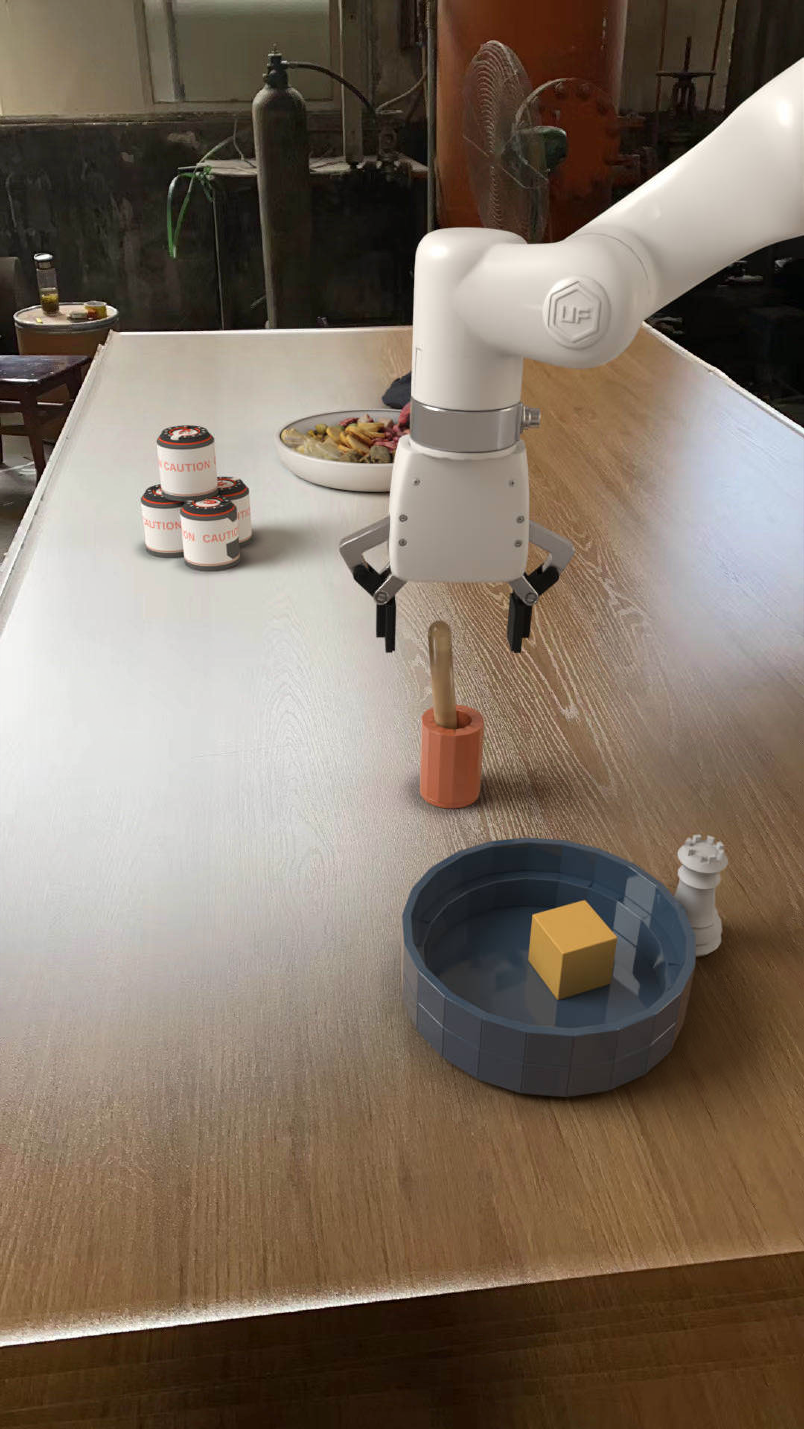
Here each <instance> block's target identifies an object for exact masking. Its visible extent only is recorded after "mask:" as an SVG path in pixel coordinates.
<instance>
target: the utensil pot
mask: <svg viewBox="0 0 804 1429" xmlns="http://www.w3.org/2000/svg"><path fill="white" fill-rule="evenodd" d="M456 717H457V729H446V728H443V727H440V726H438V725H437V724H436V723H435V722H434V711H433V706H432V707H430V708H428V709H426V710H425V711H424V713H423V714H422V715H421V718H420V750H419V752H420V756H419V794H420V796H421V798H422V799H423V800H424V801H425V802H427V803H428V804H430V805H432V806H434V807H438V808H442V809H460V808H461V809H462V808H466V807H468V806H470V805H472V804H474V803H475V802H476V801H477V800H478V799H479V797H480V794H481V788H482V787H481V786H482V771H483V757H484V756H483V754H484V752H483V750H484V737H485V736H484V735H485V719H484V716H483V715H482V713H481V712H480V711H478V710H477V709H476V708H473V707H470V706H468V705H463V704H456Z"/></svg>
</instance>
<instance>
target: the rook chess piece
mask: <svg viewBox="0 0 804 1429" xmlns="http://www.w3.org/2000/svg"><path fill="white" fill-rule="evenodd" d="M706 836H707V837H706V840H703V839H702V835H701V834H700V833H699V834H693V835H692V838H690V837H687V838H686V840H685V842H684V844H683V845H681V847H679V849H678V850H677V858H678V860H679V861H680V863H681V864H682V865H680V867H679V868H678V870H677V877H678V878H679V880H678V884H677V887H676V890H675V893H674V894H673V896H674V897H675V898H676V899H677V901H678V902H679V903H680V904H681V905H682V906H683V908H684V909H685V912H686V914H687V916H688V919H689V921H690V924H691V926H692V929H693V931H694V933H695V937H696V958H699V957H705V956H706V955H709V954H710V953H712V952H714V951H716V950H717V949H718V948H719V946H720V945H721V943H722V933H723V924H722V918H721V917H720V916H719V910H718V909H717V907H716V892H717V891H716V890H717V887H718V886H719V885H720V883H721V882H722V876H721V874H720V872H722V871H724V870H725V869H726V867H727V866H728V864H729V860H728V856H727V855H726V854H725V845H724V844H723V842H722V841H717V842H716V843H715V840H716V838H715V837H714V836H711V835H709V834H708V835H706Z"/></svg>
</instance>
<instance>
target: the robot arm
mask: <svg viewBox="0 0 804 1429" xmlns="http://www.w3.org/2000/svg"><path fill="white" fill-rule="evenodd" d="M803 236H804V56H803V57H802V58H800V59H799V60H797V61H796V62H795V63H794V64H792V65H791V66H789V67H788V68H786V69H785V70H784V71H782V72H781V73H779V74H778V75H776V76H775V77H773V78H772V79H771V80H769V81H768V82H766V83H765V84H764V85H763V86H762V87H760V88H758V90H757V91H755V92H754V93H753V94H752V95H750V96H749V97H748V98H746V99H745V100H744V101H742V103H741V104H739V106H737V107H736V108H735V109H734V110H733V111H732V113H730V114H729V115H728V117H726V118H725V120H723V122H722V123H721V124H719V125H718V126H716V128H715V129H714V130H713V131H711V133H709V134H708V135H707V136H706V137H705V138H703V139H702V140H701V141H699V142H698V143H697V144H696V145H695V146H694V147H691V148H690V149H689V150H688V151H687V152H685V153H684V154H682V156H680V157H679V158H677V159H676V160H674V161H673V162H672V163H670V164H669V165H668V166H666V167H664V169H662V170H661V171H659V172H658V173H657V174H655V175H654V176H652V178H650V179H648V180H647V181H645V182H644V183H643V184H641V185H640V186H638V187H637V188H636V189H635V190H633V191H632V192H630V193H628V194H627V195H626V196H625V197H624V198H621V200H618V202H616V203H615V204H613V205H612V206H610V207H609V208H608V209H606V210H605V211H604V212H602V213H600V214H599V215H598V216H596V217H595V218H594V219H592V220H591V221H589V222H588V223H587V224H585V225H584V226H582V227H581V228H579V229H577V230H576V231H575V232H574V233H572V234H570V235H569V236H567V237H565V239H563V240H560V241H557V242H550V243H549V242H548V243H528V242H527V240H525V239H524V237H522V236H521V235H519V234H517V233H515V232H512V231H507V230H502V229H496V228H487V227H468V226H467V227H466V226H465V227H448V228H440V229H436V230H432V231H431V232H428V233H426V234H425V235H424V236H423V237H422V239H421V240H420V242H419V243H418V245H417V248H416V251H415V260H414V261H415V262H414V278H413V279H414V283H413V287H414V288H413V309H412V311H413V313H412V314H413V315H412V346H411V347H412V348H411V350H412V351H411V370H412V381H411V406H410V434H408V435H404V436H402V437H400V439H399V442H398V445H397V449H396V454H395V460H394V465H393V471H392V480H391V489H390V491H389V502H388V503H389V504H388V516H386V517H384V518H382V519H380V520H378V521H376V522H374V523H372V524H369V525H368V526H366V527H363V528H361V529H360V530H357V531H355V532H353V533H351V534H349V535H347V536H344V537H343V538H341V539H340V540H339V544H338V545H339V546H338V550H339V553H340V555H341V557H342V559H343V561H344V564H346V566H347V568H348V570H349V571H350V573H351V575H352V578H353V580H354V581H355V582H356V583H357V584H358V585H359V586H360V587H361V588H362V589H363V590H365V592H366V593H367V594H368V595H370V597H372V598H373V601H374V603H375V605H376V606H375V637H376V639H377V638H381V639H383V638H384V650H385V653H386V654H393V652H395V651H396V632H397V631H396V630H397V602H396V601H397V600H396V594H397V593H399V591H400V590H401V589H402V588H403V587H404V586H405V585H406V584H407V583H408V582H409V583H432V584H433V583H436V584H437V583H439V584H442V583H445V584H470V583H471V584H495V583H496V584H498V583H501V584H502V583H507V584H508V585H509V587H510V588H511V589H512V592H509V599H508V600H509V601H508V612H507V613H508V614H507V625H506V639H507V642H508V645H509V648H510V651H511V652H513V654H521V653H522V648H523V639H530V636H531V626H532V616H533V606H535V605H536V604H537V603H538V602H539V600H540V597H541V596H542V595H543V594H544V593H545V592H547V591H548V590H549V589H550V588H551V587H553V586H554V585H555V584H556V583H557V582H559V580H560V575H561V574H562V573H563V572H564V571H565V569H566V568H567V566H568V565H569V563H570V562H571V560H572V559H573V557H574V555H575V553H576V549H575V547H574V544H573V543H572V541H571V540H570V539H568V538H566V537H565V536H562V535H561V534H559V533H557V532H555V531H553V530H552V529H550V528H547V527H545V526H544V525H542V524H539V523H538V522H537V521H534V520H532V519H530V478H529V477H530V476H529V464H528V455H527V454H528V453H527V448H526V443H525V442H526V441H525V440H524V439H522V438H520V436H521V435H523V433H524V431H528V430H529V429H539V428H540V425H541V409H540V408H539V407H538V408H537V407H534V408H533V407H530V406H528V405H525V404H524V403H523V401H521V395H522V385H523V384H522V383H523V372H524V358H525V359H529V360H532V361H535V362H539V363H543V364H546V365H551V366H555V367H560V368H565V369H572V370H586V369H587V370H588V369H592V368H593V369H594V368H597V367H598V368H599V367H600V366H603V365H606V364H608V363H610V362H612V361H614V360H615V359H616V358H618V357H619V356H620V355H622V353H624V352H625V351H626V349H627V348H628V347H629V346H630V345H631V344H632V342H633V341H634V339H635V337H636V336H637V334H638V333H639V330H640V328H641V327H642V324H643V322H644V321H645V320H646V319H648V318H649V317H651V316H652V315H653V314H655V313H656V312H658V311H659V310H661V309H663V308H664V307H665V306H667V305H669V304H670V303H671V302H673V301H675V300H676V299H678V298H679V297H681V296H683V295H684V294H686V293H687V292H688V291H690V290H691V289H693V288H694V287H696V286H697V285H699V284H701V283H702V282H704V281H705V280H707V279H708V278H710V277H712V276H714V275H715V274H717V273H719V272H721V270H723V269H725V268H727V267H729V266H730V265H732V264H734V263H735V262H737V261H739V260H741V259H743V258H745V257H746V256H749V255H750V254H753V253H755V252H756V251H759V250H761V249H763V248H765V247H768V246H770V245H773V244H777V243H779V242H782V241H786V240H790V239H795V238H798V237H803ZM385 542H386V546H387V554H388V557H389V558H388V559H389V562H388V563H387V564H386V565H384V567H383V569H381V570H380V572H378V571H377V570H376V569H375V568H374V567H373V566H371V564H369V563H368V561H366V559H365V557H364V553H365V552H367V551H369V550H371V549H373V548H375V547H378V546H379V545H381V544H383V543H385ZM530 543H531V544H533V545H535V546H536V547H538V548H540V549H542V550H544V551H545V552H547V553H549V554H548V556H547V558H546V560H545V561H544V562H542V563H541V564H540V565H539V566H538V567H537V568H535V569H534V570H533V571H531V573H529V574H528V572H527V570H526V569H527V564H528V556H529V544H530Z"/></svg>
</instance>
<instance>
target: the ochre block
mask: <svg viewBox="0 0 804 1429" xmlns="http://www.w3.org/2000/svg"><path fill="white" fill-rule="evenodd" d="M616 944H617V936H616V935H615V934H614V933H613V932H612V931H611V930H610V928H609V927H608V926H607V925H606V924H605V923H604V921H603V920H602V919H601V918H600V917H599V916H598V914H597V913H596V912H595V911H594V910H593V909H592V907H591V906H590V905H589V904H588V903H587V902H586V900H583V901H580V902H576V903H573V904H569V905H565V906H562V907H558V908H555V909H551V910H547V911H544V912H540V913H537V914H533V915H532V926H531V936H530V947H529V957H528V960H529V962H530V963H531V965H532V966H533V967H534V969H535V970H536V971H537V973H538V974H539V976H540V977H541V978H542V980H543V981H544V982H545V984H546V985H547V986H548V988H549V989H550V990H551V992H552V993H553V995H554V996H555V997H556V999H557V1000H560V999H563V998H567V997H570V996H573V995H576V994H579V993H583V992H586V991H589V990H592V989H595V988H599V987H602V986H605V985H608V984H610V983H611V978H612V971H613V965H614V958H615V951H616Z"/></svg>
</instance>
